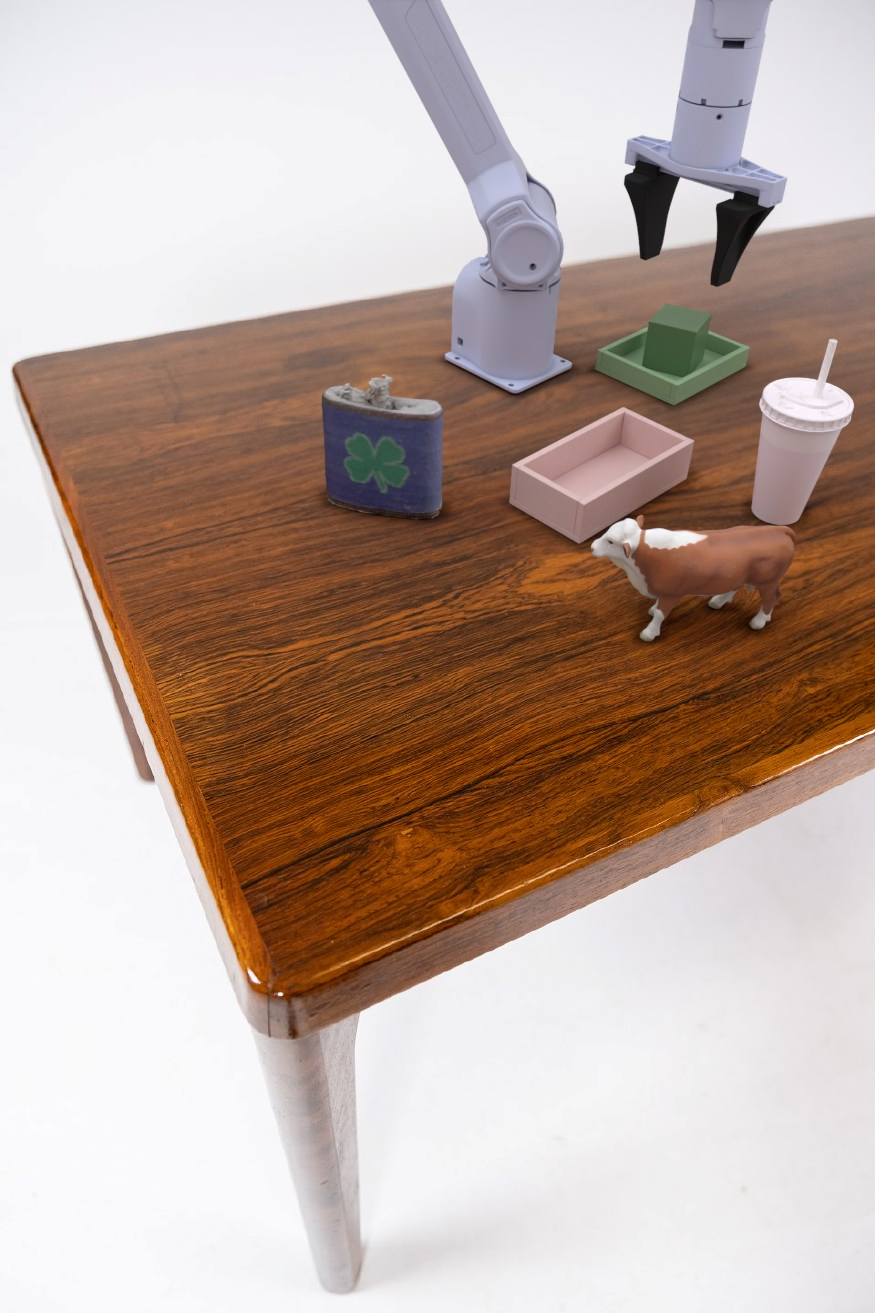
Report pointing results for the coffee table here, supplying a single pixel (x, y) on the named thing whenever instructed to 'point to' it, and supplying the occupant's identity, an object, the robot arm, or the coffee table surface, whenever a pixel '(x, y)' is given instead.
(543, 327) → the robot arm
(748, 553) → the bull figurine
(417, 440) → the flask
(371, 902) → the coffee table surface
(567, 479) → the pink tray
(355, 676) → the coffee table surface
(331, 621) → the coffee table surface
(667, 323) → the green block
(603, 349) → the green tray
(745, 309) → the coffee table surface
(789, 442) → the smoothie
